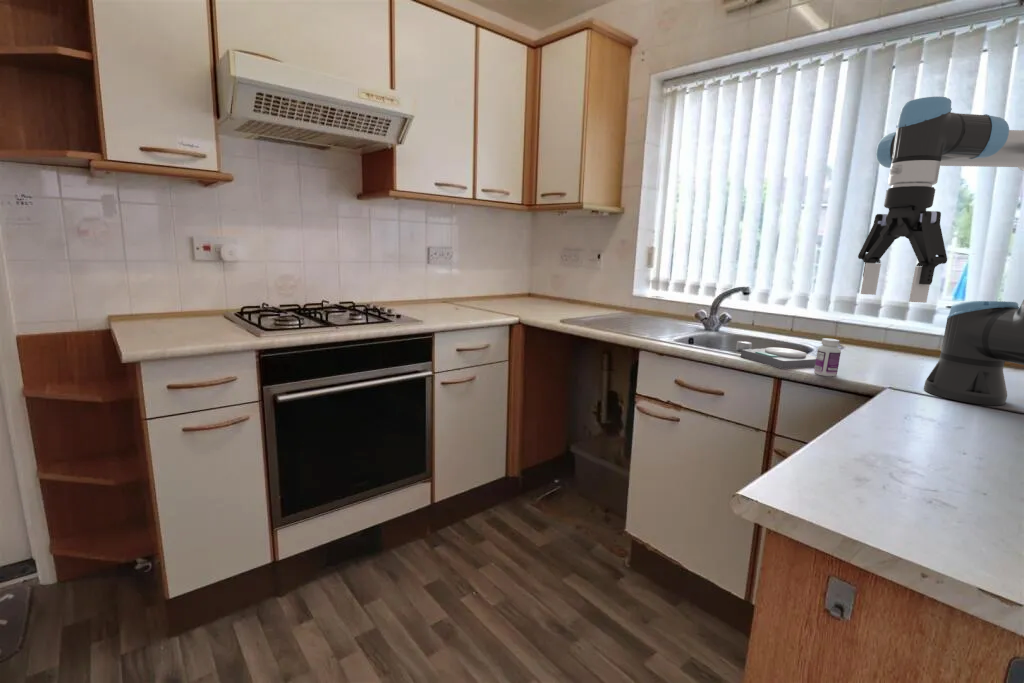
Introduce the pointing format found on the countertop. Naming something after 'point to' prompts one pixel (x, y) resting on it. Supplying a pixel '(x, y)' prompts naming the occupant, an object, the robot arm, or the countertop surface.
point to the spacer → (743, 345)
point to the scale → (780, 357)
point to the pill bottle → (828, 358)
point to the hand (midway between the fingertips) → (891, 298)
